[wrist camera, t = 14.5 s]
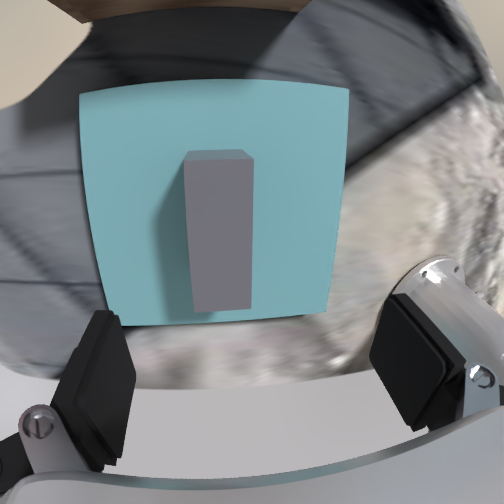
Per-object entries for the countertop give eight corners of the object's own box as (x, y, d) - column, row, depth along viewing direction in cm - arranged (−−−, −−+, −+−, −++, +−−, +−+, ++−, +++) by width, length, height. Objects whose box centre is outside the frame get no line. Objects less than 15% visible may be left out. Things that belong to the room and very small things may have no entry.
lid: (335, 90, 20) (387, 85, 14) (317, 297, 28) (347, 348, 22) (90, 95, 17) (45, 90, 11) (119, 310, 25) (101, 367, 19)
